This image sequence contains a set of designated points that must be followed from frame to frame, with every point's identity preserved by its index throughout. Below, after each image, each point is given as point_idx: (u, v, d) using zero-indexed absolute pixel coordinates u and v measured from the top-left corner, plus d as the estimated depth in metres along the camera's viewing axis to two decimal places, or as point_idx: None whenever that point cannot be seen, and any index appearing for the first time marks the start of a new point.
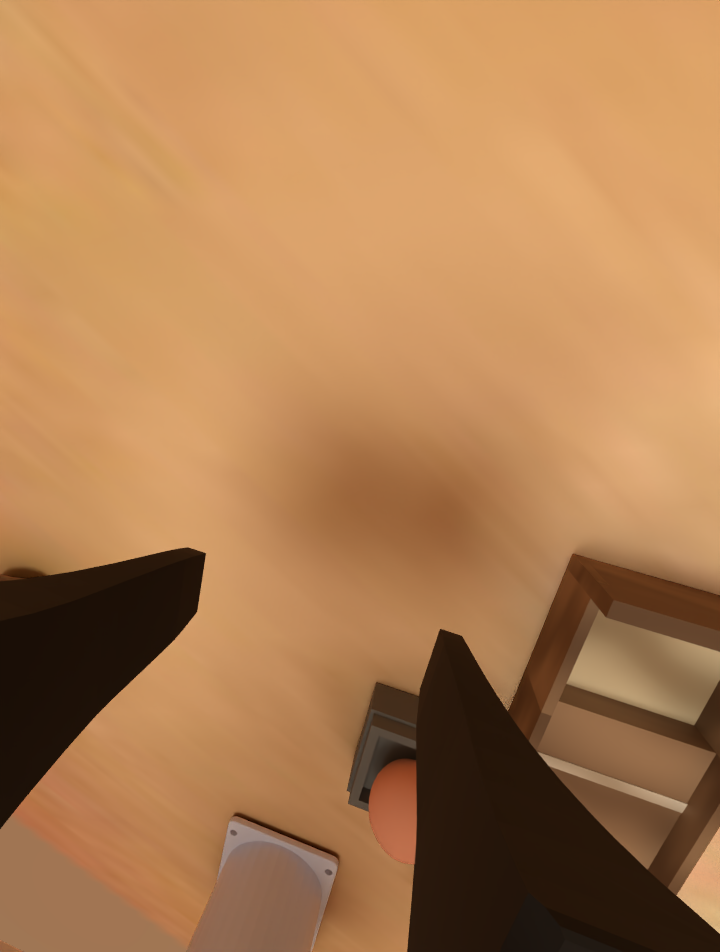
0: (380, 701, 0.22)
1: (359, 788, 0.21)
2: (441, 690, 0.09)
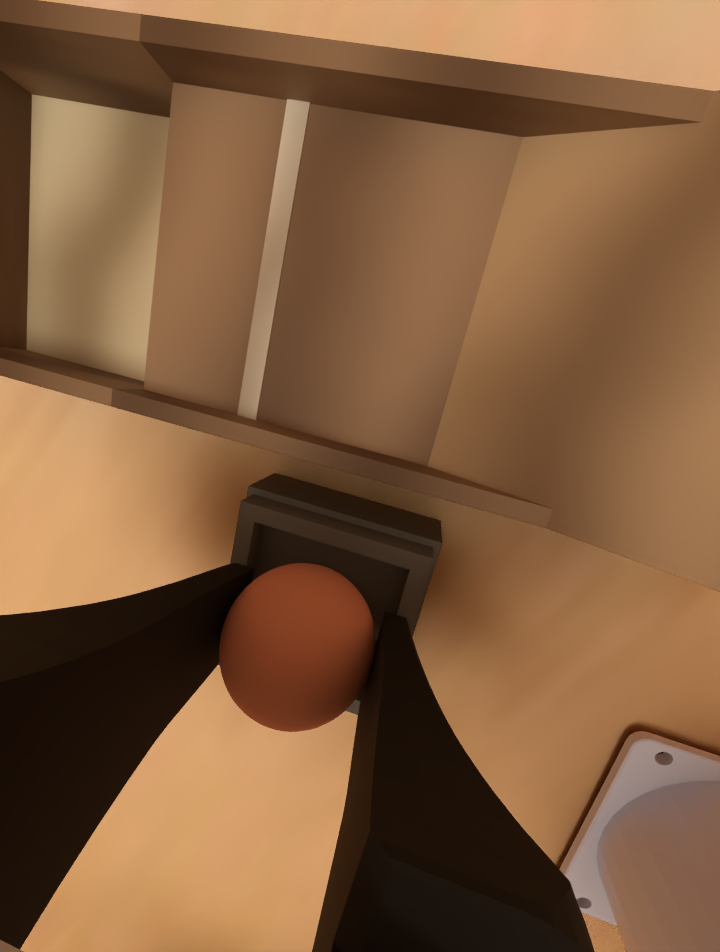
0: None
1: None
2: (376, 667, 0.09)
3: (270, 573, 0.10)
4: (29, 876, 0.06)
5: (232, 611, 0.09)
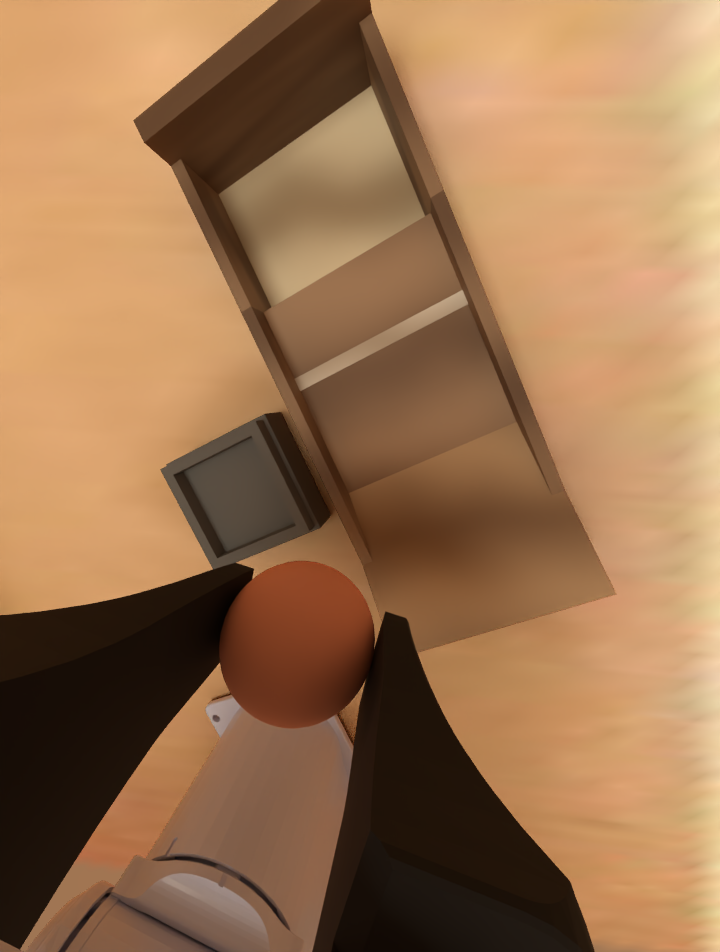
0: None
1: (207, 544, 0.19)
2: (375, 666, 0.09)
3: (270, 571, 0.10)
4: (29, 876, 0.06)
5: (232, 609, 0.09)
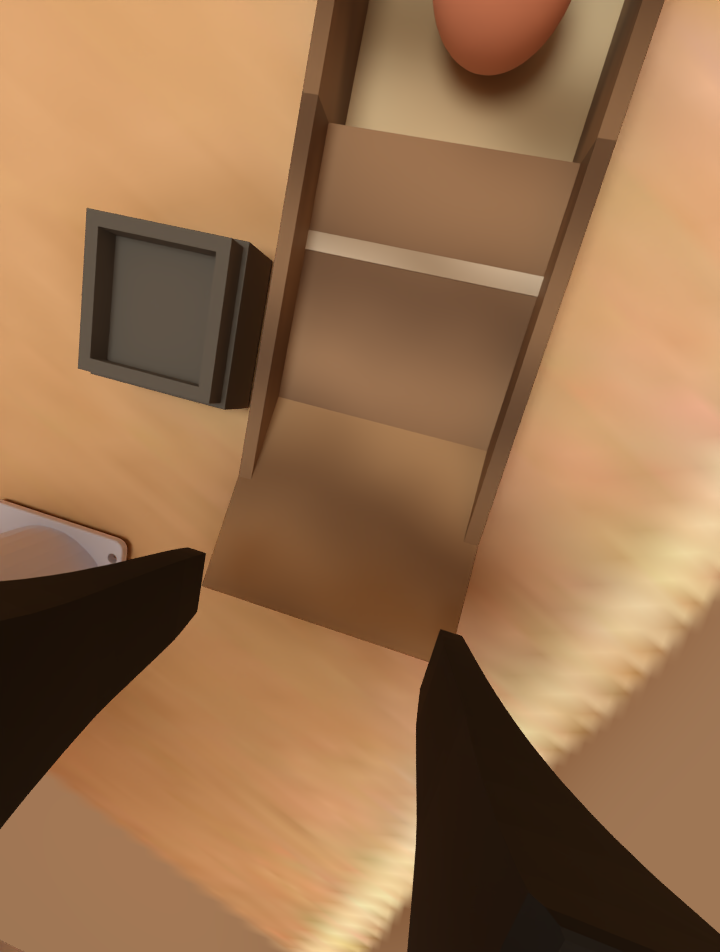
0: None
1: (87, 335, 0.14)
2: (441, 689, 0.09)
3: (450, 5, 0.10)
4: None
5: (437, 27, 0.11)
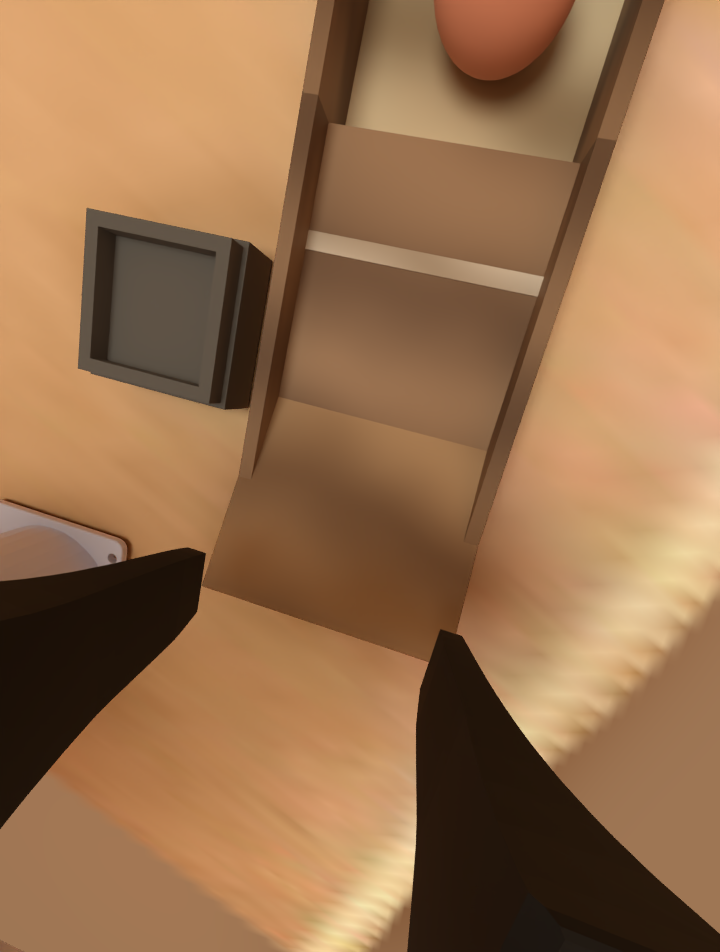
0: None
1: (87, 335, 0.14)
2: (441, 689, 0.09)
3: (452, 15, 0.10)
4: None
5: None
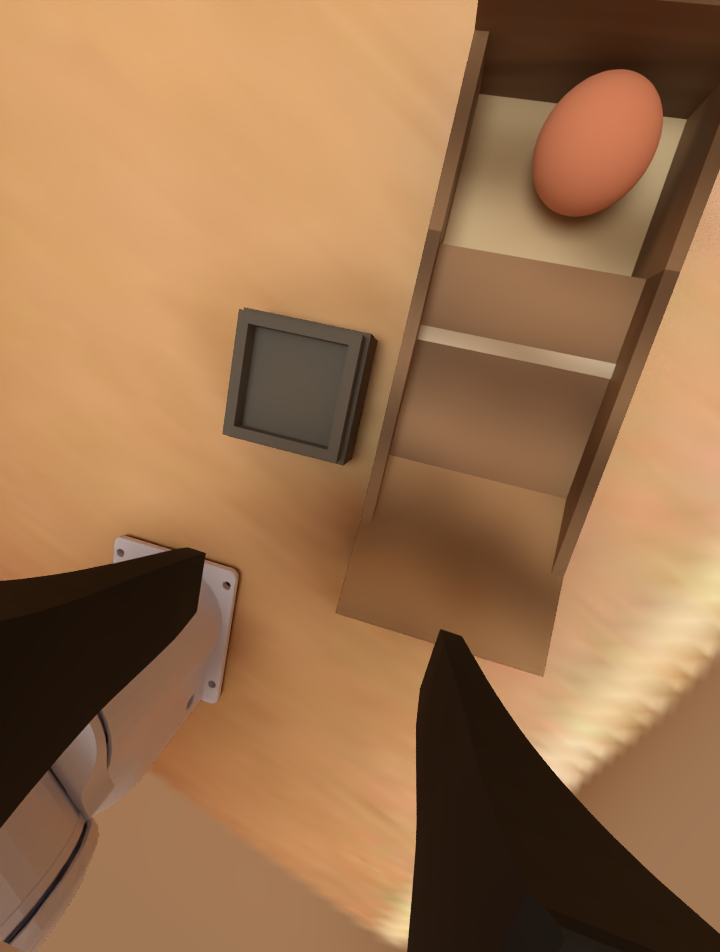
0: None
1: (233, 407, 0.18)
2: (441, 689, 0.09)
3: (552, 184, 0.14)
4: None
5: (534, 182, 0.15)
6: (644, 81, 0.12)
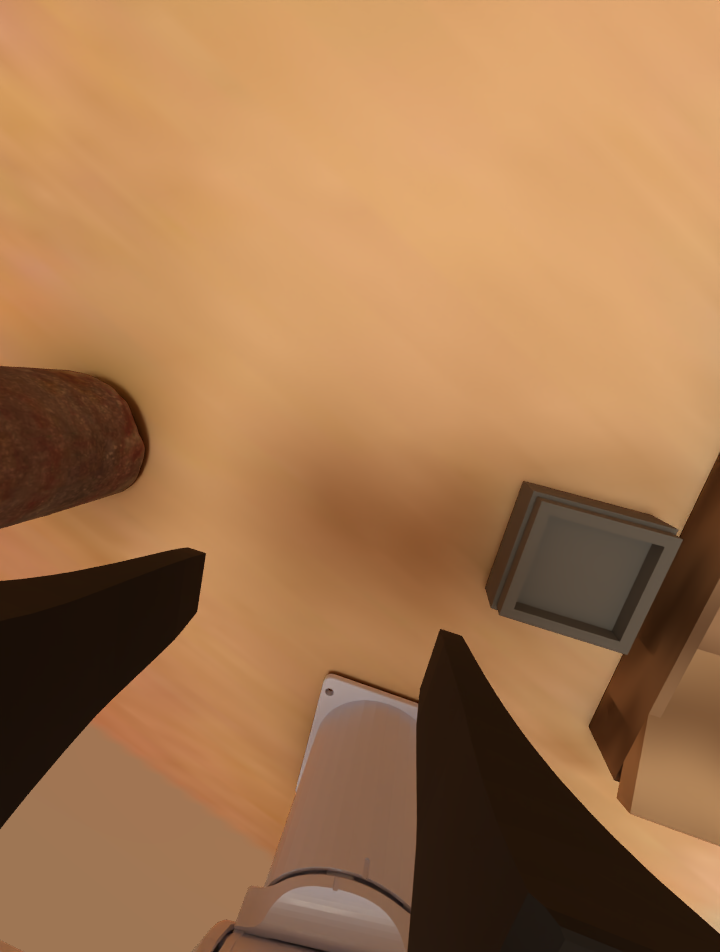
0: (539, 489, 0.17)
1: (516, 592, 0.17)
2: (441, 689, 0.09)
3: None
4: None
5: None
6: None
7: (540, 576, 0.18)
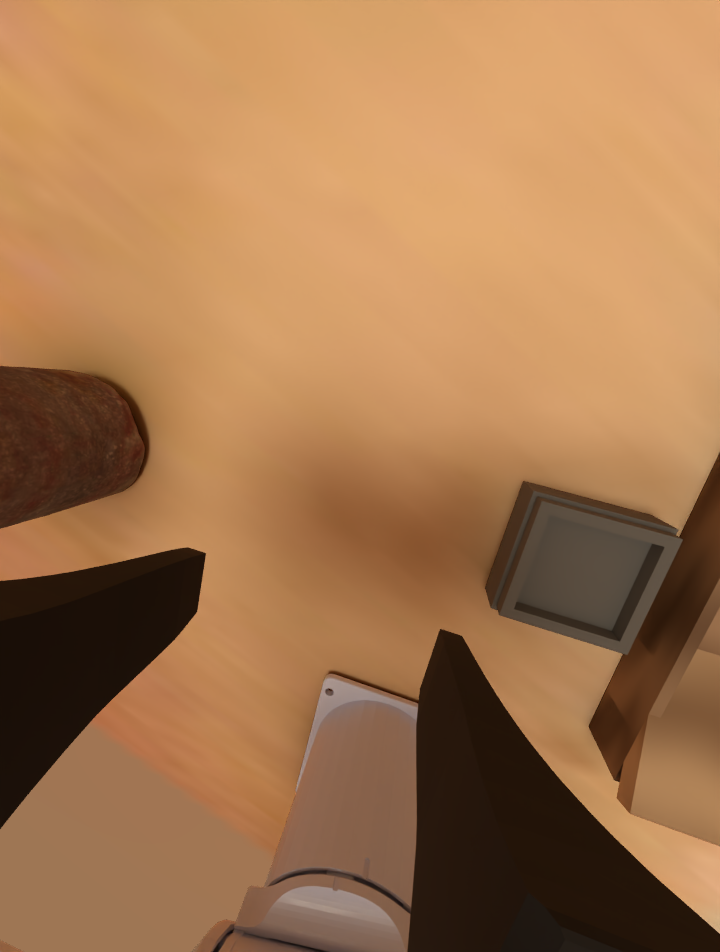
0: (539, 489, 0.17)
1: (516, 592, 0.17)
2: (441, 689, 0.09)
3: None
4: None
5: None
6: None
7: (540, 576, 0.18)
